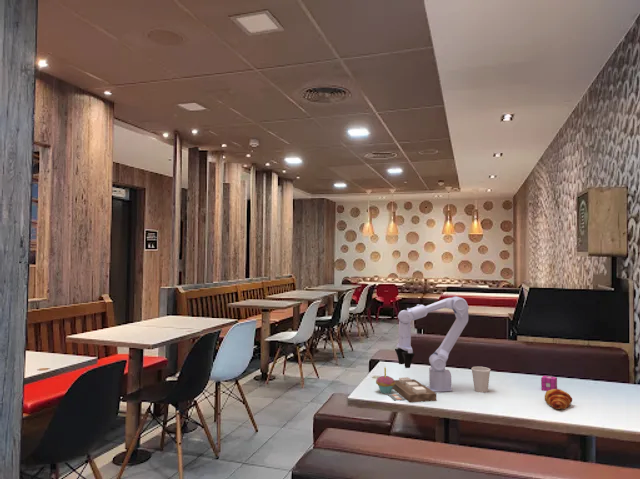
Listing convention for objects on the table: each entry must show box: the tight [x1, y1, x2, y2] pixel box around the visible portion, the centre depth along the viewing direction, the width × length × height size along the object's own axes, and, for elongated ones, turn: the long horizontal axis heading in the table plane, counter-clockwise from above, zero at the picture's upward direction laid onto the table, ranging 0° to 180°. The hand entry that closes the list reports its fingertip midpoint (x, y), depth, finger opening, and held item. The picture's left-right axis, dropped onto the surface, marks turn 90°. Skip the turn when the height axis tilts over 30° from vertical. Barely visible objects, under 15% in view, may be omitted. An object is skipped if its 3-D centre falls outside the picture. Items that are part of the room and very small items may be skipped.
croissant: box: [544, 388, 573, 410], centre depth 190 cm, size 21×10×8 cm, turn 155°
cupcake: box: [375, 367, 395, 395], centre depth 206 cm, size 9×8×12 cm
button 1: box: [398, 376, 412, 384], centre depth 212 cm, size 4×4×3 cm
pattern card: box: [387, 393, 407, 402], centre depth 197 cm, size 5×8×1 cm, turn 11°
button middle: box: [406, 382, 419, 388], centre depth 204 cm, size 4×4×3 cm
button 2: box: [412, 387, 426, 394], centre depth 196 cm, size 4×4×3 cm
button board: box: [392, 378, 437, 403], centre depth 204 cm, size 12×24×3 cm, turn 11°
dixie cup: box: [470, 366, 491, 393], centre depth 209 cm, size 8×8×10 cm
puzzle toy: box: [540, 375, 558, 392], centre depth 211 cm, size 6×6×6 cm
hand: (404, 366), depth 212 cm, fingers open, 7 cm apart
